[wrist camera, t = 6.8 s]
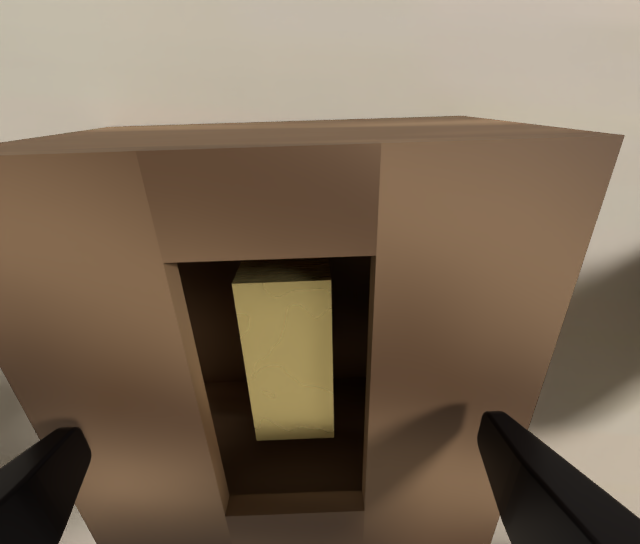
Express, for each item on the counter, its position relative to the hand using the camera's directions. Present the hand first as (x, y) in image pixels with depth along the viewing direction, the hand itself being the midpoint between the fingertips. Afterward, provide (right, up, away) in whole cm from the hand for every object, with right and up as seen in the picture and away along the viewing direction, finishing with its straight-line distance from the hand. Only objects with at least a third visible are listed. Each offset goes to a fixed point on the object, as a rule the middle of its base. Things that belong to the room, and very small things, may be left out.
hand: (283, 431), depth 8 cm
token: (0, +3, +6) cm, 7 cm away
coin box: (0, +3, +7) cm, 8 cm away
